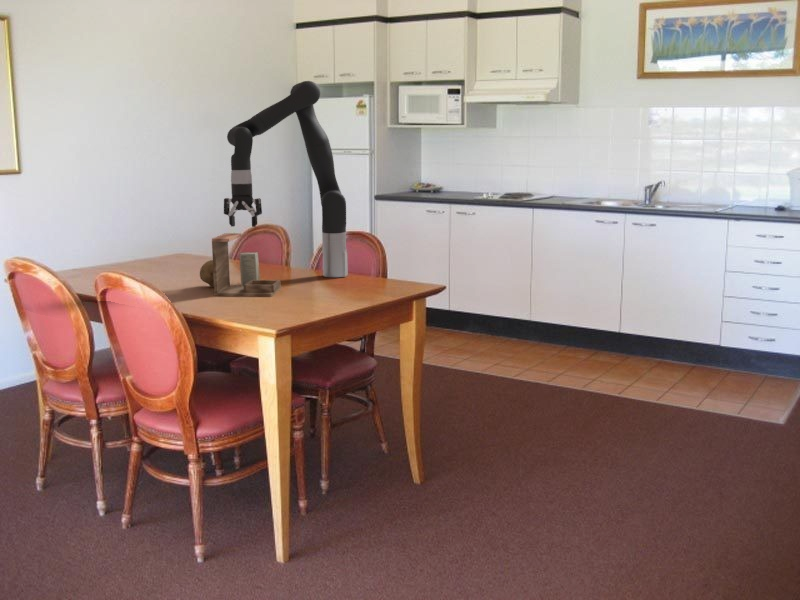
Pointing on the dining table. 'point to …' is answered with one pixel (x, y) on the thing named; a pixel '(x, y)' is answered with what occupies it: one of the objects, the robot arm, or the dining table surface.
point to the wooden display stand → (223, 278)
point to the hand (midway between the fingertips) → (243, 226)
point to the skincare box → (249, 267)
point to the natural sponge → (207, 273)
